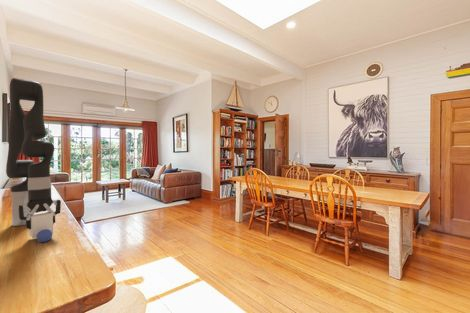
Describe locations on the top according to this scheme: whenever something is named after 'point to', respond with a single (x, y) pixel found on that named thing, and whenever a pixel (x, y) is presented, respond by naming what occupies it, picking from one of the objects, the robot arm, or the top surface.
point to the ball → (44, 235)
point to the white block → (41, 223)
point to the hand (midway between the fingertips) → (41, 226)
